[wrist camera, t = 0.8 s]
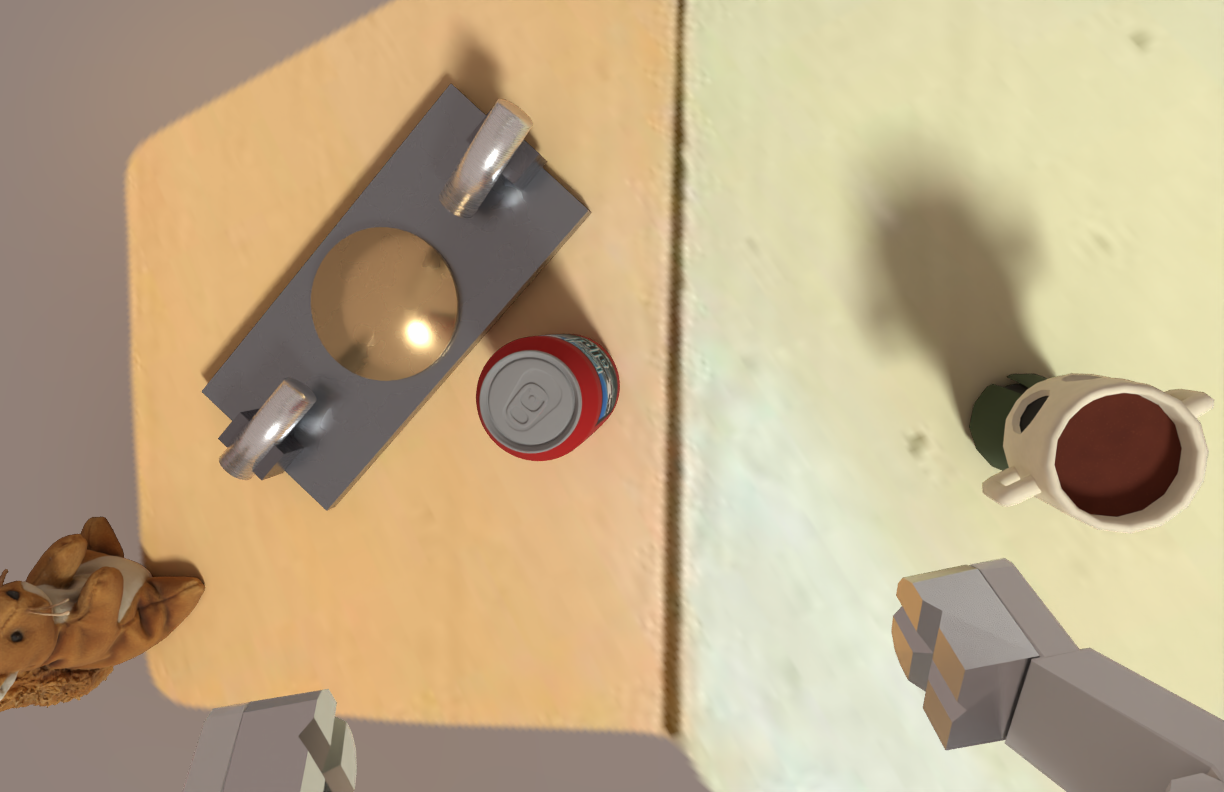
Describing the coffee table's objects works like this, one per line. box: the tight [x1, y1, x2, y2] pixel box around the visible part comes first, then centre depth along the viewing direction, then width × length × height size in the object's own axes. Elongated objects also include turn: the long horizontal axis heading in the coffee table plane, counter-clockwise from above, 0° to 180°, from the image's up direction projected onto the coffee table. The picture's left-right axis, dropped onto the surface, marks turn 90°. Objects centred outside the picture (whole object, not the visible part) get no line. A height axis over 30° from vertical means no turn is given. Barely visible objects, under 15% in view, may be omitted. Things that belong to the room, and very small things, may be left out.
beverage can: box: [476, 334, 620, 461], centre depth 47 cm, size 7×7×12 cm
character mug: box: [969, 373, 1214, 533], centre depth 43 cm, size 11×7×13 cm, turn 119°
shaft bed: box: [202, 84, 591, 510], centre depth 50 cm, size 30×12×7 cm, turn 138°
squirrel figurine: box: [0, 517, 205, 712], centre depth 52 cm, size 10×14×13 cm
